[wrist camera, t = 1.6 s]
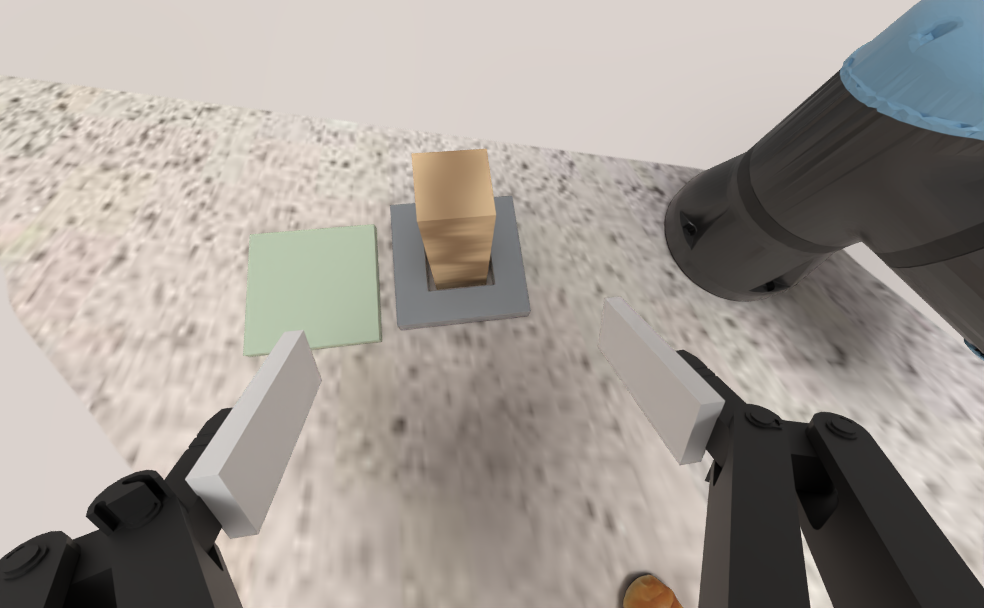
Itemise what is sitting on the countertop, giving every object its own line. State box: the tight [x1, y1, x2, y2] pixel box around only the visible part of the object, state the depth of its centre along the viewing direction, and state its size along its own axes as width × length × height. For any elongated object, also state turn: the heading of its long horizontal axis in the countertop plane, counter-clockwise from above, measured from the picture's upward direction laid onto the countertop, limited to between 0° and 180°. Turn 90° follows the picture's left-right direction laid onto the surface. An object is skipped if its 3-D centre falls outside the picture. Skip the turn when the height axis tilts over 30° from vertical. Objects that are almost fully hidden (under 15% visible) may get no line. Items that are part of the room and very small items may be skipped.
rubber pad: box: [243, 224, 382, 357], centre depth 34 cm, size 12×12×1 cm
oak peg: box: [412, 149, 496, 290], centre depth 29 cm, size 5×5×14 cm
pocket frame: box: [390, 196, 531, 330], centre depth 35 cm, size 12×12×2 cm
